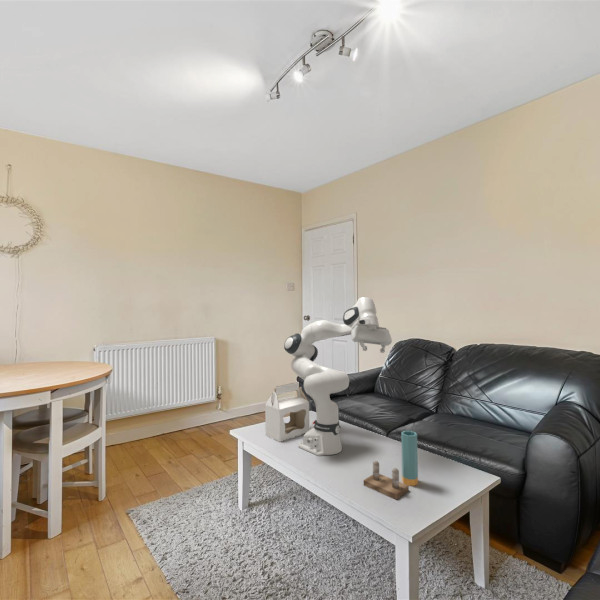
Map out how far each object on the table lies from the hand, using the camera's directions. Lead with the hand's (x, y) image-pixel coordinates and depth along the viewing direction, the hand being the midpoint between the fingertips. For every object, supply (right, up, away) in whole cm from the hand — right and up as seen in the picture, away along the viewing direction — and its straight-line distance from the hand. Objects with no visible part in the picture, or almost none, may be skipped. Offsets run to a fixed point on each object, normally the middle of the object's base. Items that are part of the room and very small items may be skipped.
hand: (374, 351), depth 167 cm
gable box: (-42, -52, +33) cm, 75 cm away
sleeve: (+10, -51, -22) cm, 56 cm away
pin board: (-1, -51, -26) cm, 57 cm away
